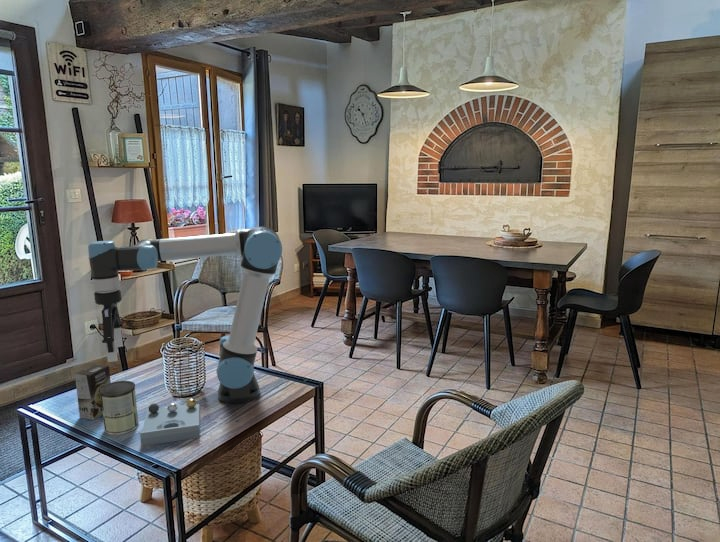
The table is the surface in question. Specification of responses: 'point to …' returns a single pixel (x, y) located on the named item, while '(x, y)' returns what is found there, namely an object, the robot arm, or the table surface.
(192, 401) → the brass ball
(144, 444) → the board
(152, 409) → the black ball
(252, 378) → the robot arm
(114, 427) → the coffee can
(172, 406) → the steel ball
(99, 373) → the coffee box
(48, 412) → the table surface
